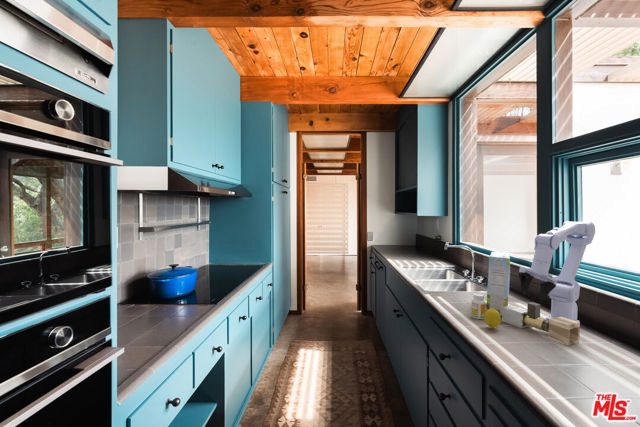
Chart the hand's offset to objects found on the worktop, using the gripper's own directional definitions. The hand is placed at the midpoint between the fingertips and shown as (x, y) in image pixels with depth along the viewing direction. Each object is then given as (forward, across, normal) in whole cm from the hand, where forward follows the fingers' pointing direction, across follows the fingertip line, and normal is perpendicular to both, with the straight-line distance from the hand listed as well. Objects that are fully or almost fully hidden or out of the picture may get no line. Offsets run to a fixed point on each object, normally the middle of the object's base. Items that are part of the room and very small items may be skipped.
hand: (532, 296), depth 120 cm
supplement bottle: (+15, -9, +15) cm, 23 cm away
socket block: (+12, +9, -8) cm, 17 cm away
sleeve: (+12, +3, +8) cm, 14 cm away
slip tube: (+11, +4, +4) cm, 12 cm away
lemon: (+17, -10, +3) cm, 20 cm away
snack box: (+8, +6, +25) cm, 27 cm away
